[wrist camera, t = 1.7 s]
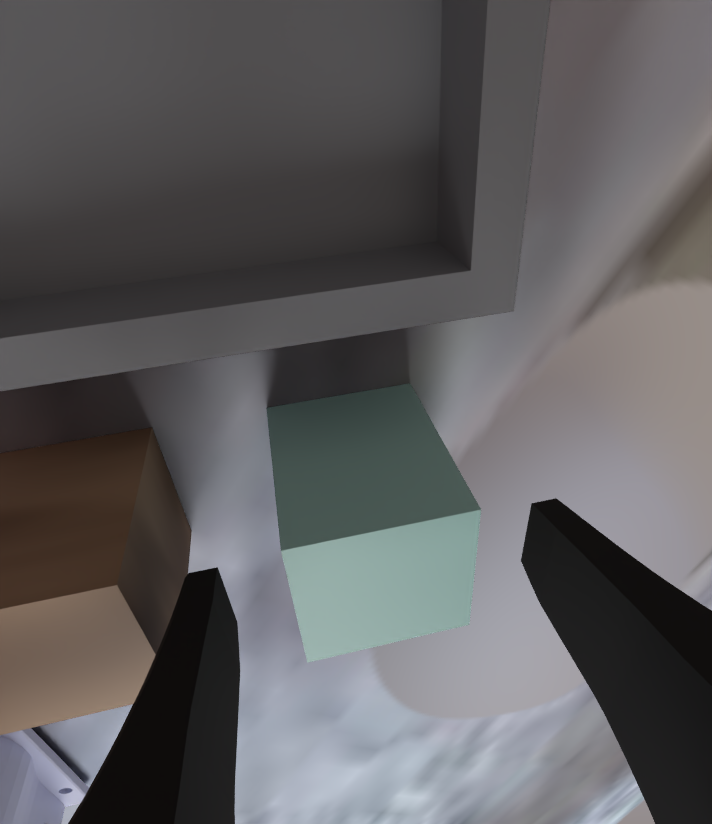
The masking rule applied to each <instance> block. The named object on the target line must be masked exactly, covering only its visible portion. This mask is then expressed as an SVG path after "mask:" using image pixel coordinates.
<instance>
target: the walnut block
mask: <svg viewBox="0 0 712 824" xmlns="http://www.w3.org/2000/svg"><path fill="white" fill-rule="evenodd" d="M190 542H191V529H190V526H189V523H188V521H187V518H186V515H185V513H184V510H183V508H182V505H181V502H180V500H179V497H178V494H177V492H176V489H175V487H174V484H173V481H172V479H171V476H170V473H169V471H168V468H167V466H166V463H165V460H164V458H163V455H162V452H161V450H160V447H159V444H158V442H157V439H156V437H155V434H154V431H153V429H152V427H151V428H145V429H139V430H134V431H128V432H122V433H116V434H110V435H104V436H99V437H93V438H87V439H81V440H75V441H69V442H63V443H58V444H52V445H46V446H40V447H34V448H28V449H22V450H17V451H11V452H5V453H0V735H3V734H8V733H12V732H16V731H20V730H25V729H29V728H33V727H37V726H42V725H46V724H50V723H54V722H59V721H63V720H67V719H71V718H76V717H80V716H84V715H88V714H93V713H97V712H101V711H105V710H110V709H114V708H118V707H122V706H127V705H131V704H134V702H135V700H136V698H137V696H138V694H139V691H140V689H141V687H142V685H143V683H144V681H145V678H146V676H147V674H148V672H149V669H150V667H151V665H152V662H153V660H154V658H155V655H156V653H157V651H158V648H159V646H160V644H161V641H162V639H163V636H164V634H165V631H166V629H167V626H168V624H169V621H170V619H171V616H172V613H173V611H174V608H175V605H176V602H177V600H178V597H179V594H180V591H181V588H182V585H183V582H184V579H185V577H186V576H187V575H188V565H189V554H190Z"/></svg>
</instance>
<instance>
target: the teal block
mask: <svg viewBox="0 0 712 824" xmlns="http://www.w3.org/2000/svg"><path fill="white" fill-rule="evenodd" d="M267 417H268V426H269V436H270V446H271V456H272V466H273V476H274V486H275V496H276V506H277V516H278V526H279V535H280V545H281V553H282V557H283V561H284V565H285V570H286V574H287V578H288V582H289V586H290V591H291V595H292V599H293V603H294V608H295V612H296V616H297V620H298V624H299V629H300V633H301V637H302V641H303V646H304V650H305V654H306V658H307V662H312V661H317V660H321V659H325V658H329V657H334V656H338V655H342V654H347V653H351V652H355V651H359V650H364V649H368V648H372V647H376V646H381V645H385V644H389V643H393V642H397V641H402V640H406V639H410V638H415V637H418V636H423V635H427V634H432V633H436V632H440V631H444V630H448V629H452V628H457V627H461V626H465V625H469V622H470V610H471V602H472V592H473V582H474V573H475V563H476V554H477V544H478V534H479V524H480V515H481V509H480V507H479V505H478V503H477V502H476V500H475V498H474V496H473V495H472V493H471V491H470V489H469V487H468V486H467V484H466V482H465V480H464V479H463V477H462V475H461V473H460V471H459V470H458V468H457V466H456V464H455V462H454V461H453V459H452V457H451V455H450V454H449V452H448V450H447V448H446V447H445V445H444V443H443V441H442V439H441V438H440V436H439V434H438V432H437V431H436V429H435V427H434V425H433V423H432V422H431V420H430V418H429V416H428V415H427V413H426V411H425V409H424V407H423V406H422V404H421V402H420V400H419V399H418V397H417V395H416V393H415V392H414V390H413V388H412V386H411V384H410V383H409V384H403V385H398V386H392V387H386V388H380V389H374V390H368V391H362V392H357V393H351V394H345V395H339V396H333V397H327V398H321V399H316V400H310V401H304V402H298V403H292V404H286V405H280V406H275V407H269V408H267Z"/></svg>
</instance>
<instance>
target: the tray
mask: <svg viewBox="0 0 712 824" xmlns="http://www.w3.org/2000/svg"><path fill="white" fill-rule="evenodd" d="M549 9H550V0H0V391H6V390H12V389H19V388H25V387H32V386H38V385H44V384H51V383H57V382H64V381H70V380H76V379H83V378H89V377H96V376H102V375H108V374H115V373H121V372H128V371H134V370H140V369H147V368H153V367H160V366H166V365H172V364H179V363H185V362H192V361H198V360H204V359H211V358H217V357H224V356H230V355H236V354H243V353H249V352H256V351H262V350H268V349H275V348H281V347H288V346H294V345H300V344H307V343H313V342H320V341H326V340H332V339H339V338H345V337H352V336H358V335H364V334H371V333H377V332H384V331H390V330H396V329H403V328H409V327H416V326H422V325H429V324H435V323H441V322H448V321H454V320H461V319H467V318H473V317H480V316H486V315H493V314H499V313H505V312H512V311H514V304H515V296H516V287H517V279H518V270H519V262H520V254H521V245H522V237H523V228H524V220H525V211H526V203H527V194H528V186H529V178H530V169H531V161H532V152H533V144H534V135H535V127H536V118H537V110H538V101H539V93H540V85H541V76H542V68H543V59H544V51H545V42H546V34H547V25H548V17H549Z"/></svg>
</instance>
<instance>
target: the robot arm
mask: <svg viewBox="0 0 712 824" xmlns="http://www.w3.org/2000/svg"><path fill="white" fill-rule="evenodd" d="M521 562H522V564H523V566H524V569H525V571H526V573H527V576H528V578H529V580H530V583H531V585H532V587H533V589H534V591H535V594H536V596H537V598H538V600H539V602H540V604H541V606H542V608H543V609H544V611H545V612H546V614H547V616H548V618H549V619H550V621H551V623H552V625H553V626H554V628H555V630H556V632H557V633H558V635H559V637H560V638H561V640H562V642H563V643H564V645H565V647H566V648H567V650H568V652H569V653H570V655H571V657H572V658H573V660H574V662H575V663H576V665H577V667H578V669H579V670H580V672H581V674H582V675H583V677H584V679H585V680H586V682H587V684H588V685H589V687H590V689H591V690H592V692H593V694H594V696H595V697H596V699H597V701H598V703H599V705H600V707H601V708H602V710H603V712H604V714H605V716H606V718H607V720H608V722H609V724H610V726H611V728H612V730H613V732H614V735H615V737H616V739H617V741H618V743H619V745H620V747H621V749H622V751H623V753H624V755H625V757H626V759H627V762H628V764H629V766H630V768H631V770H632V773H633V775H634V777H635V779H636V781H637V784H638V786H639V788H640V790H641V792H642V795H643V797H644V799H645V801H646V803H647V805H648V807H649V810H650V812H651V815H652V817H653V819H654V822H655V824H712V611H711V610H710V609H708V608H706V607H705V606H703V605H702V604H700V603H699V602H697V601H696V600H694V599H693V598H691V597H690V596H688V595H687V594H685V593H684V592H682V591H681V590H679V589H678V588H676V587H675V586H673V585H672V584H670V583H669V582H667V581H666V580H664V579H663V578H661V577H660V576H658V575H657V574H656V573H654V572H652V571H651V570H650V569H649V568H647V567H646V566H644V565H643V564H642V563H640V562H639V561H637V560H636V559H635V558H633V557H632V556H631V555H629V554H628V553H627V552H625V551H624V550H623V549H621V548H620V547H619V546H617V545H616V544H615V543H613V542H612V541H611V540H609V539H608V538H607V537H606V536H604V535H603V534H602V533H600V532H599V531H598V530H596V529H595V528H594V527H592V526H591V525H590V524H589V523H587V522H586V521H585V520H583V519H582V518H581V517H580V516H578V515H577V514H576V513H574V512H573V511H572V510H570V509H569V508H568V507H567V506H565V505H564V504H563V503H561V502H560V501H559V500H558V499H552V500H546V501H542V502H537V503H532V505H531V510H530V515H529V521H528V526H527V532H526V537H525V542H524V547H523V553H522V558H521ZM239 683H240V661H239V642H238V627H237V620H236V618H235V615H234V612H233V609H232V606H231V604H230V601H229V598H228V595H227V592H226V590H225V587H224V584H223V581H222V579H221V576H220V573H219V570H218V567H217V568H212V569H207V570H203V571H198V572H193V573H189V574H188V575H187V576H186V577H185V579H184V582H183V585H182V588H181V591H180V594H179V597H178V600H177V602H176V605H175V608H174V611H173V613H172V616H171V619H170V621H169V624H168V626H167V629H166V631H165V634H164V636H163V639H162V641H161V644H160V646H159V648H158V651H157V653H156V655H155V658H154V660H153V662H152V665H151V667H150V669H149V672H148V674H147V676H146V678H145V681H144V683H143V685H142V687H141V689H140V691H139V694H138V696H137V698H136V700H135V702H134V704H133V706H132V708H131V710H130V712H129V714H128V716H127V718H126V720H125V722H124V724H123V726H122V728H121V730H120V732H119V734H118V736H117V738H116V740H115V742H114V744H113V746H112V748H111V750H110V752H109V753H108V755H107V757H106V759H105V761H104V763H103V765H102V766H101V768H100V770H99V772H98V774H97V775H96V777H95V779H94V781H93V782H92V784H91V786H90V788H89V787H88V786H87V785H86V784H85V783H84V782H83V781H82V780H81V779H80V778H79V777H78V776H77V775H76V774H75V773H74V772H73V771H72V770H71V769H70V768H69V767H68V766H67V765H66V764H65V763H64V762H63V760H62V759H61V758H60V757H59V756H58V755H57V754H56V753H55V752H54V751H53V750H52V749H51V748H50V747H49V746H48V745H47V744H46V743H45V742H44V741H43V740H42V739H41V738H40V737H39V736H38V735H37V734H36V733H35V732H34V731H33V730H32V729H31V728H29V729H25V730H20V731H16V732H12V733H8V734H3V735H0V824H61V822H62V818H63V813H64V809H65V807H67V806H71V805H75V804H79V803H80V805H79V807H78V808H77V810H76V812H75V813H74V815H73V817H72V818H71V820H70V822H69V823H68V824H235V815H234V803H235V769H236V748H237V727H238V706H239Z"/></svg>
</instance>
